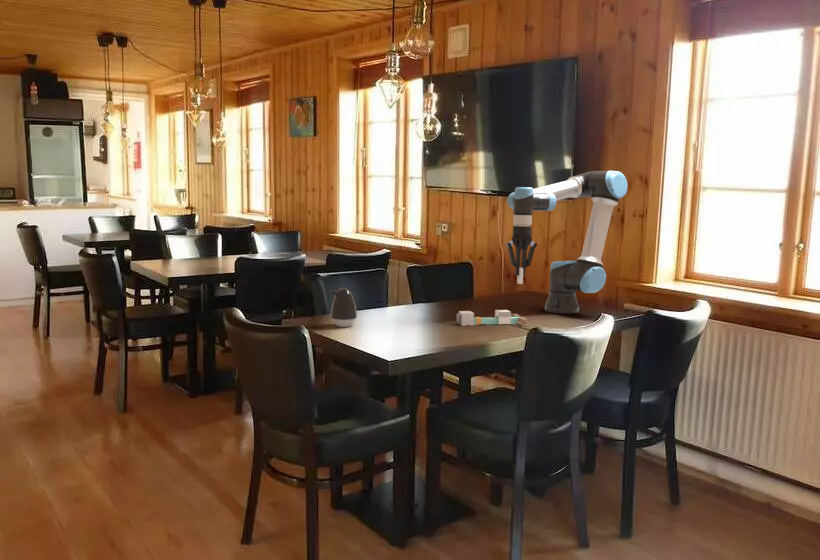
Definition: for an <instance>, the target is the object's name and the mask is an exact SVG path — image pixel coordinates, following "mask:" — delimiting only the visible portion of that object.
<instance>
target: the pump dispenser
mask: <svg viewBox="0 0 820 560" xmlns="http://www.w3.org/2000/svg"><path fill="white" fill-rule="evenodd" d="M330 294H333V295H334V298H333V301H332V304H331V309H330V319H331V322H332V323H333V325H334V326H336V327H338V328H349V326H350V327H351V326H353V325H354V324H355V322H356V320H357V317H358V314H357V306H356V303H355V302H356V301H355V299H354V297H353V294H352V292H351V291H350V290H349V289H348V288H347V287H342V288H341V287H340V288H339V289H338V291H335V290H331V291H330Z"/></svg>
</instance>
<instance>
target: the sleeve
mask: <svg viewBox="0 0 820 560" xmlns="http://www.w3.org/2000/svg"><path fill="white" fill-rule="evenodd" d="M511 314H512V311H510V310H508V309H495V310H494V317H498V324H497V325H512V324H511Z"/></svg>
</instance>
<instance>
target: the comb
mask: <svg viewBox="0 0 820 560" xmlns="http://www.w3.org/2000/svg"><path fill="white" fill-rule="evenodd" d="M511 317H518V322H517V324H516V325H519V326H520V327H528V326H529V325H528V319H527V318H525V317H524V316H522V317H521V315H520V314H519V315H518V313H511Z"/></svg>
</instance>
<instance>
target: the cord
mask: <svg viewBox="0 0 820 560" xmlns="http://www.w3.org/2000/svg"><path fill="white" fill-rule="evenodd" d="M517 322H518V317H511V324H510V325H518V324H517ZM456 323H458V324H459V325H460V326H461V327H463V326H465V327H466V326H467V325H470V326H480V325H479V324H486V325H499V324H498V317H495V316H494V317H480V316H475V313H474V312H473V311H471V310H460V311H459V310H458V313H456Z"/></svg>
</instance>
